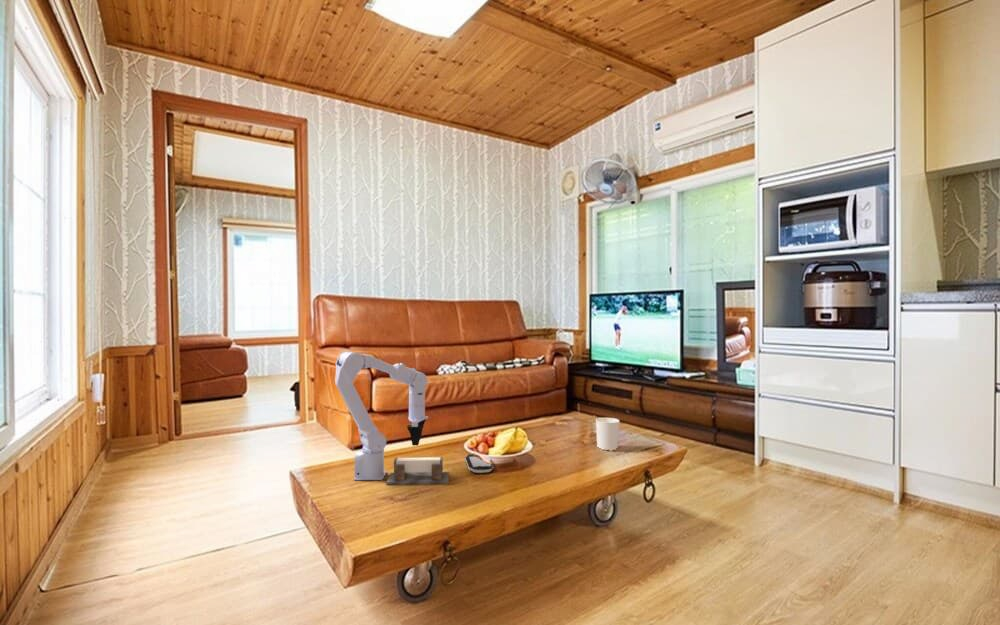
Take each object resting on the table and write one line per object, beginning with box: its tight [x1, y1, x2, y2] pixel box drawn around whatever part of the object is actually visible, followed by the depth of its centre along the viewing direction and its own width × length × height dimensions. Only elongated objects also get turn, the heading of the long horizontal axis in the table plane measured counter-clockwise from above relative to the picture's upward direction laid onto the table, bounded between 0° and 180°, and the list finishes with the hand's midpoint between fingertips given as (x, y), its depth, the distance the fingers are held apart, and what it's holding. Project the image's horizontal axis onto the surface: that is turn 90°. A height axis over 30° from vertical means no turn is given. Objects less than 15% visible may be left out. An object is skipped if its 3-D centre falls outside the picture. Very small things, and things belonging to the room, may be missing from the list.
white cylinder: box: [595, 417, 621, 450], centre depth 198 cm, size 10×10×12 cm
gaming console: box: [464, 453, 494, 475], centre depth 175 cm, size 19×9×2 cm, turn 11°
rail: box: [393, 456, 444, 473], centre depth 159 cm, size 16×3×4 cm, turn 94°
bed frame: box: [385, 464, 450, 486], centre depth 159 cm, size 20×9×6 cm, turn 94°
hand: (416, 442), depth 171 cm, fingers open, 7 cm apart
